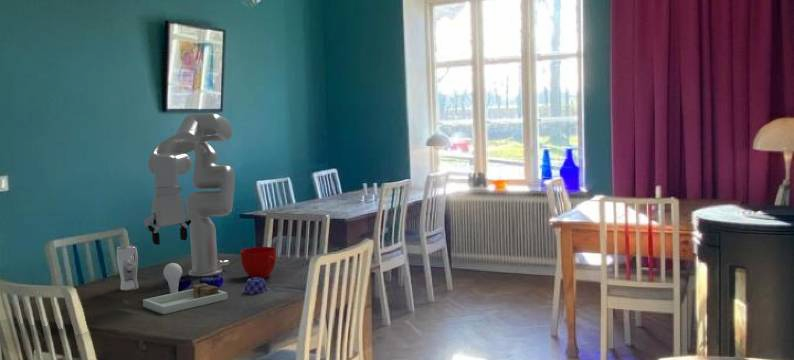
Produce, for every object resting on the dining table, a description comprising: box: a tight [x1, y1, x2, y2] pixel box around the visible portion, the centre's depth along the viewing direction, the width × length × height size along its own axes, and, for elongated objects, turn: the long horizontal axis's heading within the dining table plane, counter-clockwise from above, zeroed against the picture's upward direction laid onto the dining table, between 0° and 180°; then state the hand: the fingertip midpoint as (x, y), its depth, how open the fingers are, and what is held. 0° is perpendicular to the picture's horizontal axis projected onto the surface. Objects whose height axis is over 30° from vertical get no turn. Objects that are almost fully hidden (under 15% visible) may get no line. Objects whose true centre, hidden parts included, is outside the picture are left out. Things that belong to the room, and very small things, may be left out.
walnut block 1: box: [192, 282, 210, 298], centre depth 234 cm, size 4×4×4 cm
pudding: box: [243, 277, 271, 295], centre depth 240 cm, size 12×12×5 cm
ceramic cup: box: [240, 246, 277, 279], centre depth 264 cm, size 13×17×10 cm
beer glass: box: [116, 244, 139, 292], centre depth 253 cm, size 7×7×15 cm
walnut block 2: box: [200, 285, 219, 297], centre depth 231 cm, size 4×4×4 cm
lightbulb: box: [162, 262, 183, 294], centre depth 242 cm, size 6×6×11 cm
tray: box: [142, 288, 229, 315], centre depth 228 cm, size 22×14×3 cm, turn 134°
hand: (170, 242), depth 241 cm, fingers open, 9 cm apart
